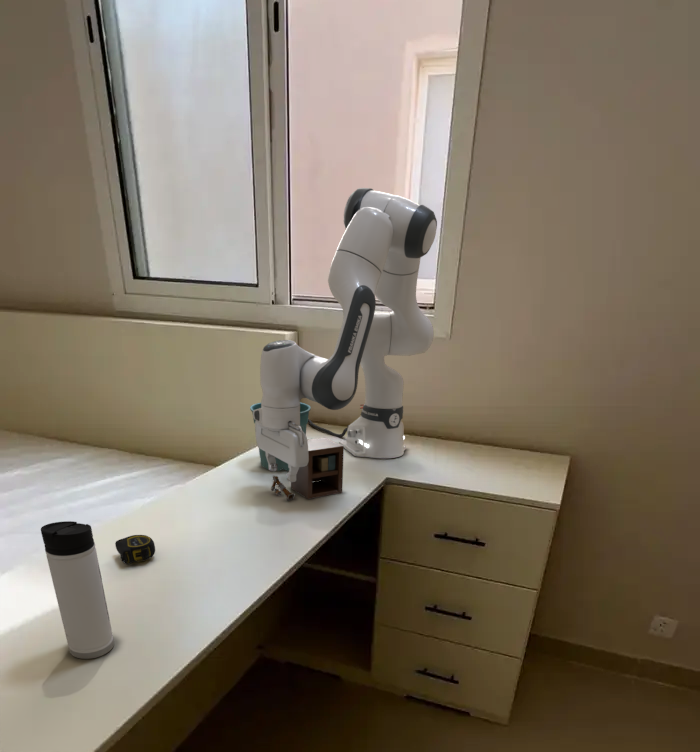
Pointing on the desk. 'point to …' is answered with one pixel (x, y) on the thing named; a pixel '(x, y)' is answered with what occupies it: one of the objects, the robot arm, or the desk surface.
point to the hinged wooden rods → (282, 487)
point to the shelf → (321, 469)
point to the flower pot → (303, 423)
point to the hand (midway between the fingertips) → (282, 475)
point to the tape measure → (135, 548)
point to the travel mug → (78, 588)
